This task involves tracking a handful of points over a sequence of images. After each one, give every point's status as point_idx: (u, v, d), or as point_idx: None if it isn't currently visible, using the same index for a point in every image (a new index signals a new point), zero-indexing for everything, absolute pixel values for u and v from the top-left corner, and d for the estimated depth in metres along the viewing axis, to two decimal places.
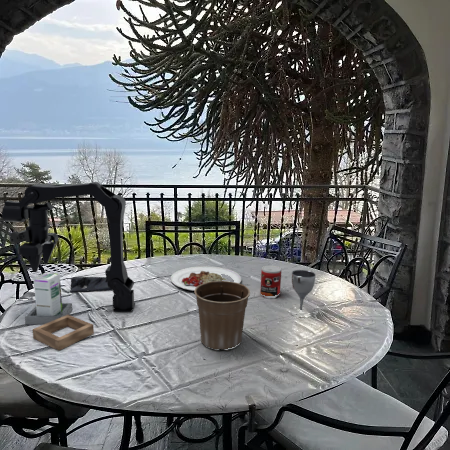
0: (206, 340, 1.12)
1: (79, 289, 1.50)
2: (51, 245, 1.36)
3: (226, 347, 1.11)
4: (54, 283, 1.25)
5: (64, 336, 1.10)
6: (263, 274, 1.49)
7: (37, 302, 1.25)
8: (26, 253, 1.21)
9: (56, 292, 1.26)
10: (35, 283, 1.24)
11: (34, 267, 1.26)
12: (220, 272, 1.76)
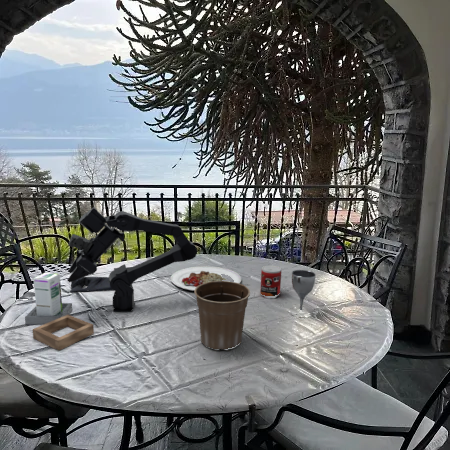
0: (206, 340, 1.12)
1: (79, 289, 1.50)
2: None
3: (226, 347, 1.11)
4: (54, 283, 1.25)
5: (64, 336, 1.10)
6: (263, 274, 1.49)
7: (37, 302, 1.25)
8: (85, 267, 1.20)
9: (56, 292, 1.26)
10: (35, 283, 1.24)
11: (73, 278, 1.23)
12: (220, 272, 1.76)
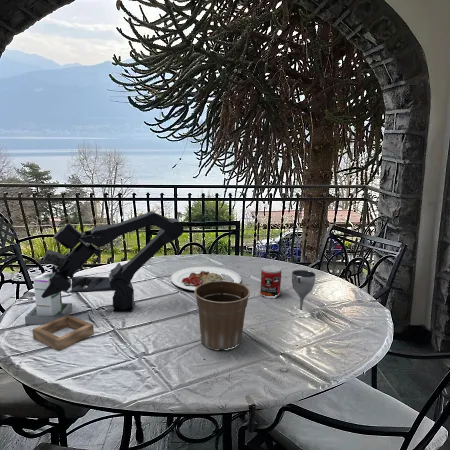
0: (206, 340, 1.12)
1: (80, 289, 1.50)
2: None
3: (226, 347, 1.11)
4: None
5: (64, 336, 1.10)
6: (263, 274, 1.49)
7: (37, 302, 1.25)
8: (58, 284, 1.18)
9: None
10: (35, 283, 1.24)
11: (47, 294, 1.22)
12: (220, 272, 1.76)
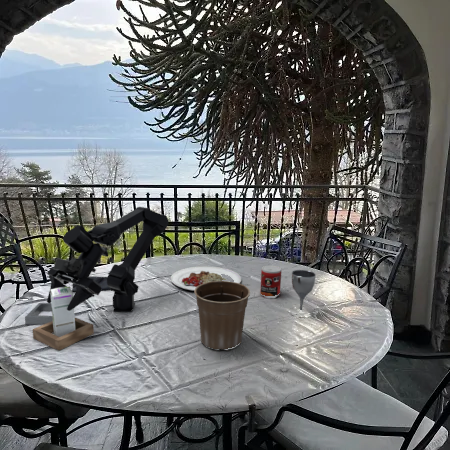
0: (206, 340, 1.12)
1: None
2: (64, 286, 1.20)
3: (226, 347, 1.11)
4: None
5: (64, 336, 1.10)
6: (263, 274, 1.49)
7: (57, 322, 1.12)
8: (93, 289, 1.12)
9: None
10: (55, 301, 1.11)
11: (73, 305, 1.11)
12: (220, 272, 1.76)
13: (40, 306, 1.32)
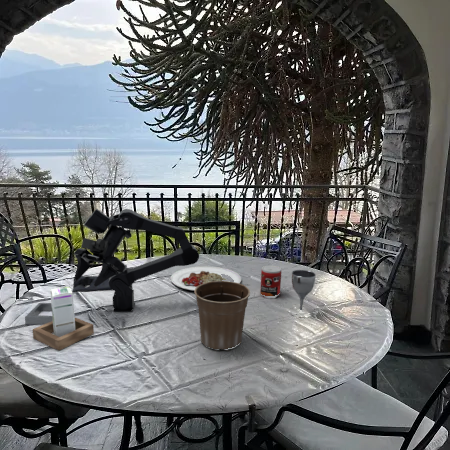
0: (206, 340, 1.12)
1: (81, 288, 1.50)
2: (89, 265, 1.29)
3: (226, 347, 1.11)
4: None
5: (64, 336, 1.10)
6: (263, 274, 1.49)
7: (57, 322, 1.12)
8: (117, 267, 1.21)
9: None
10: (55, 301, 1.11)
11: (100, 281, 1.21)
12: (220, 272, 1.76)
13: (40, 306, 1.32)
